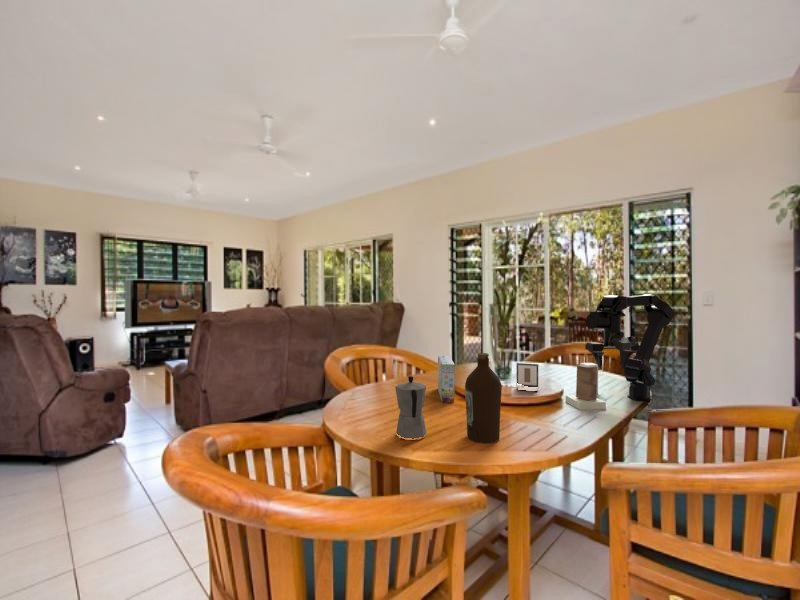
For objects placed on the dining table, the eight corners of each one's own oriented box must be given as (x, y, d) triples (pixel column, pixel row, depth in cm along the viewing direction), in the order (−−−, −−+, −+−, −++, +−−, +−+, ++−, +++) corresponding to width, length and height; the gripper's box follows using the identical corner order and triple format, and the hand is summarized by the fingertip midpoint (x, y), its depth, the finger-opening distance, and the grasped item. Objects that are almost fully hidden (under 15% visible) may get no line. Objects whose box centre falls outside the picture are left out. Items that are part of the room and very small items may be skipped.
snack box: (455, 402, 151) (455, 364, 150) (441, 402, 151) (441, 364, 150) (449, 388, 172) (449, 354, 171) (437, 388, 172) (436, 354, 171)
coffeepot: (393, 428, 124) (393, 372, 123) (423, 426, 125) (422, 371, 124) (398, 447, 108) (397, 383, 108) (431, 446, 109) (431, 382, 109)
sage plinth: (589, 402, 152) (590, 394, 152) (605, 410, 142) (605, 402, 142) (565, 403, 151) (565, 395, 151) (579, 411, 141) (579, 402, 141)
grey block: (590, 390, 167) (591, 362, 167) (598, 393, 162) (598, 364, 162) (579, 390, 167) (580, 362, 166) (586, 393, 162) (586, 365, 161)
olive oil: (496, 430, 121) (496, 350, 120) (505, 444, 110) (505, 356, 109) (462, 430, 121) (462, 350, 120) (468, 444, 110) (468, 356, 110)
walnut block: (584, 396, 150) (585, 364, 150) (596, 399, 145) (597, 367, 145) (576, 397, 147) (576, 365, 147) (587, 400, 143) (588, 367, 143)
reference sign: (516, 387, 173) (516, 362, 173) (538, 388, 170) (538, 363, 170) (516, 390, 168) (516, 364, 167) (538, 392, 165) (538, 365, 164)
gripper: (602, 331, 140) (601, 374, 140) (650, 330, 142) (650, 372, 142) (584, 327, 151) (584, 367, 151) (629, 327, 153) (629, 366, 153)
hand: (611, 368), depth 149 cm, fingers open, 9 cm apart
